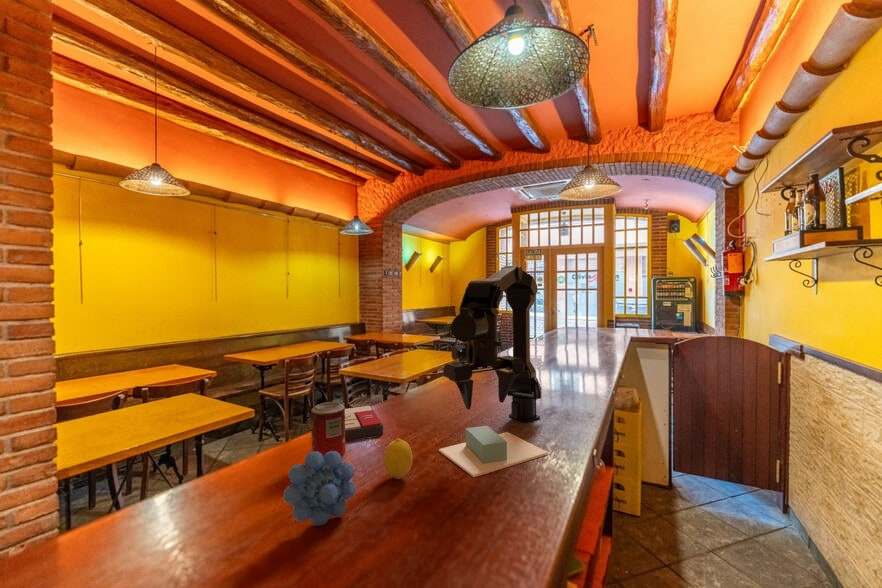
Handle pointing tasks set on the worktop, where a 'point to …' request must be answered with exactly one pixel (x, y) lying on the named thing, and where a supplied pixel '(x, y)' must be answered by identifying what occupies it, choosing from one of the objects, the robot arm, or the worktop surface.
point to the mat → (472, 465)
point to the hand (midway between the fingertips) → (485, 405)
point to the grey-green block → (486, 444)
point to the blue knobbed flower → (320, 487)
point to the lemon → (398, 458)
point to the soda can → (328, 428)
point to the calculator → (362, 423)
